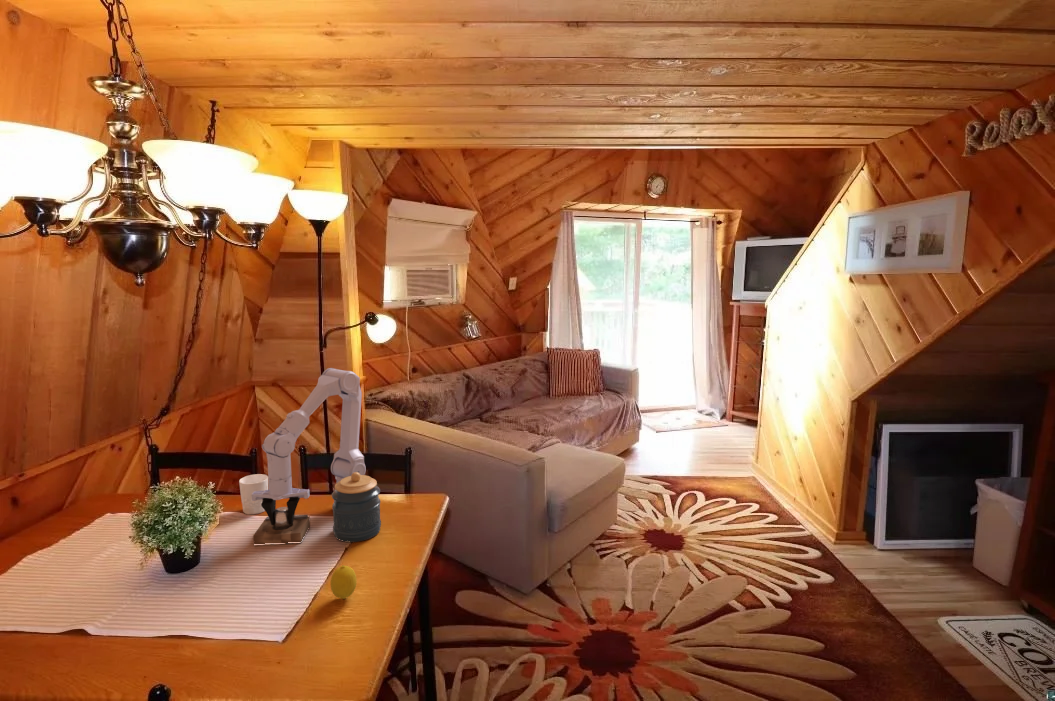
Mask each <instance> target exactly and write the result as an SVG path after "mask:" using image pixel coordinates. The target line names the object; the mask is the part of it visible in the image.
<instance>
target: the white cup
mask: <svg viewBox="0 0 1055 701" xmlns="http://www.w3.org/2000/svg"><path fill="white" fill-rule="evenodd" d="M238 484H239V490H240V491H239V492H240V498H241V500H240V501H241V505H242V506H241V507H242V513H244V514H245V515H257V514H258V515H259V514H261V513H263V512H266V511H265V510H264V509H263V507H262V506H261V503H262V501H263V500H256V501H252V493H253V492H254V491H263V490H269V478H268V475H267V474H264V473H263V474H261V473H257V474H255V473H254V474H250V475H246V476H244V477H242V478H240V479H239V481H238Z"/></svg>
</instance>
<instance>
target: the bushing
mask: <svg viewBox="0 0 1055 701" xmlns="http://www.w3.org/2000/svg"><path fill="white" fill-rule="evenodd" d="M274 518H275V530H284V529H288V528H290V527H291V524H289V522H288V508H287V506H281V507H280V506H279V507H278V508H276V509H275V510H274Z"/></svg>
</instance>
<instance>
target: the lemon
mask: <svg viewBox="0 0 1055 701" xmlns="http://www.w3.org/2000/svg"><path fill="white" fill-rule="evenodd" d="M356 588H357V575H356V572H355V570H354V568H352V567H351V566H348V565H344V564H342V565H341V566H339V567H336V569H334V571H333V573H332V574H331V578H330V589H331V590H330V591H331V592H332V595H334V596H335V597H336V598H339V599H342V600H346V598H349V597H350V596H351V595H353V593H354V592H355V590H356Z"/></svg>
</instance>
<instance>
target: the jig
mask: <svg viewBox="0 0 1055 701" xmlns="http://www.w3.org/2000/svg"><path fill="white" fill-rule="evenodd" d="M310 527H311V518H310V516H309V515H308V514H294V521H293V523H292V524H291V527H290V528H288V529H284V530H275V524H274V525H271V522H270V519H269V517H268V516H266V518H264V520H263V521H262V523H261V524H260V525H259V527H258V529H256V531H255V532H254V534H253V535H252V537H253V538H252V540H253V545H254V544H265V543H288V542H301V541H302V539H303V537H304V536H305V537H306V535H307V533H306V532H308V531H309V529H310ZM308 528H309V529H308ZM307 530H308V531H307ZM305 534H306V535H305ZM305 537H304V538H305ZM303 540H304V539H303ZM302 542H303V541H302ZM302 542H301V543H302Z"/></svg>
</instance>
